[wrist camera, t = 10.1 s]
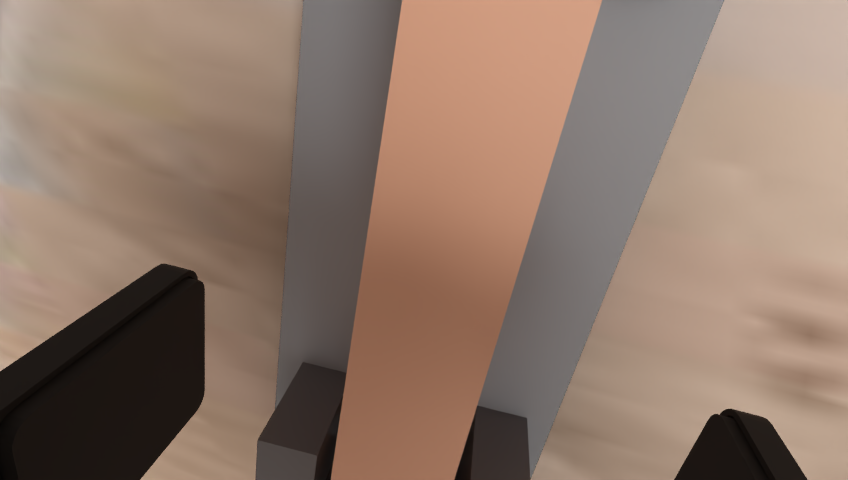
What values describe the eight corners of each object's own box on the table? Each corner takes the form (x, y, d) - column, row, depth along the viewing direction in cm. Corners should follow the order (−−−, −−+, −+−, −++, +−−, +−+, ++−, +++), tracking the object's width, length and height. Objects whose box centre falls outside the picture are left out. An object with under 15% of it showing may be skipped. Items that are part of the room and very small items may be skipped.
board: (350, -353, 12) (331, -400, 11) (811, -278, 11) (851, -316, 10) (285, 432, 24) (271, 457, 22) (513, 491, 23) (513, 521, 22)
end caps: (371, -341, 11) (306, -512, 7) (782, -272, 11) (927, -421, 7) (294, 450, 22) (252, 536, 18) (495, 503, 21) (493, 602, 18)
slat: (469, -183, 12) (446, -302, 7) (614, -157, 12) (683, -263, 7) (362, 422, 21) (321, 537, 16) (444, 444, 20) (427, 566, 16)
